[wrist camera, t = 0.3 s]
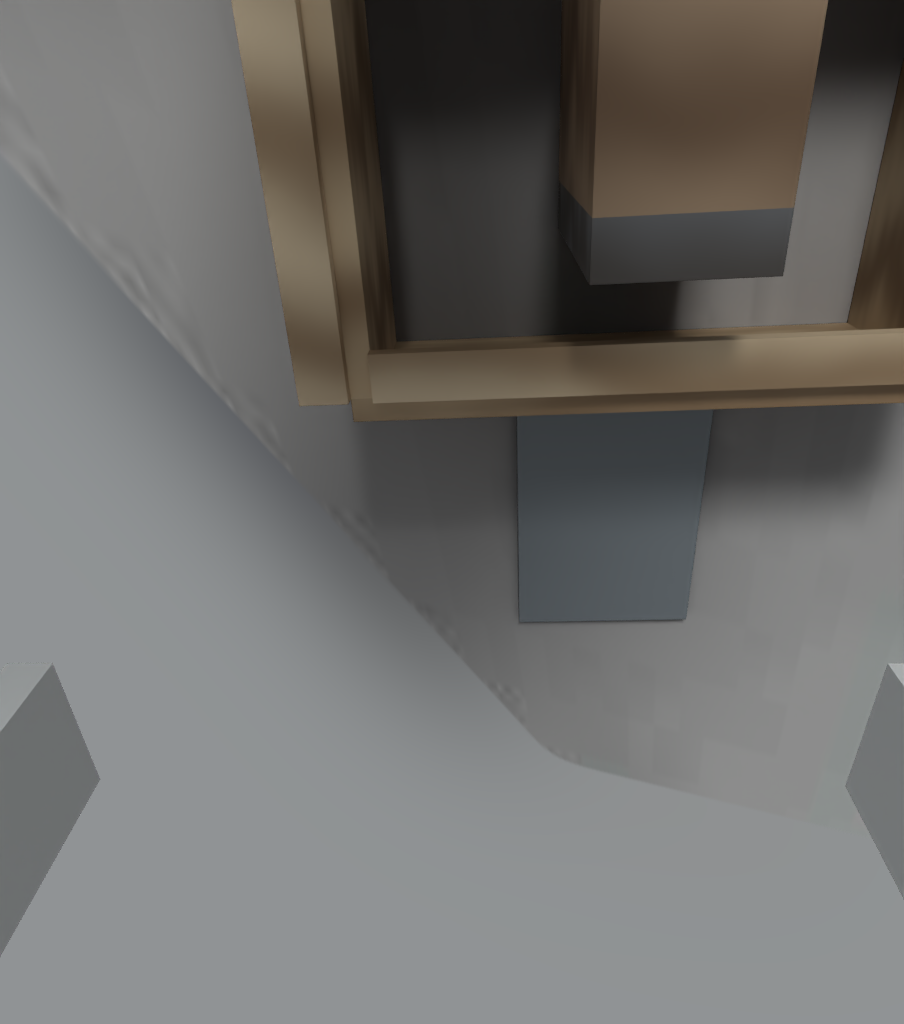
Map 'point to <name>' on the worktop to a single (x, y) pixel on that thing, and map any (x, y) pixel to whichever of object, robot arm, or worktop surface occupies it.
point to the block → (683, 134)
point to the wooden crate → (505, 360)
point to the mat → (609, 513)
